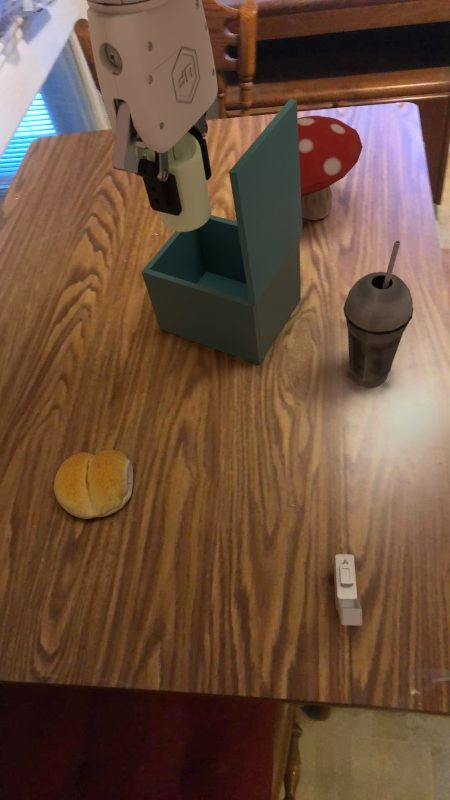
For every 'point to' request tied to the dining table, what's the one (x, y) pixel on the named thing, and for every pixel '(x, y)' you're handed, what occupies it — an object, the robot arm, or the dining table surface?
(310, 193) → the decorative mushroom
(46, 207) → the dining table surface
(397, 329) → the beverage cup
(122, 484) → the bread roll
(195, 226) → the candle
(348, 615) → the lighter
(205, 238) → the chest
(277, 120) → the lid
